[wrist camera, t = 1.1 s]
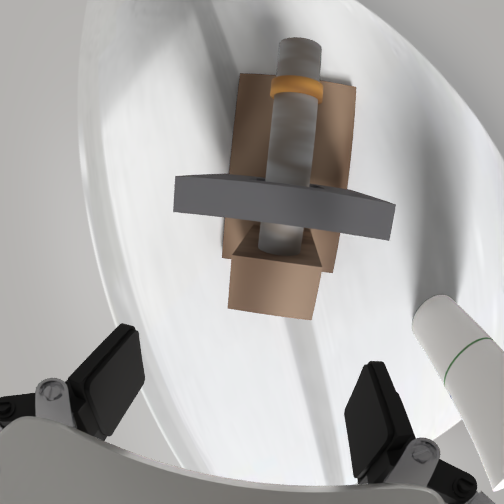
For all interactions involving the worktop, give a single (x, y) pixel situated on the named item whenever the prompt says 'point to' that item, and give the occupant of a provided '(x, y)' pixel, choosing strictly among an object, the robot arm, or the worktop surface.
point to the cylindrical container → (467, 375)
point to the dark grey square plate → (284, 204)
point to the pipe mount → (287, 178)
